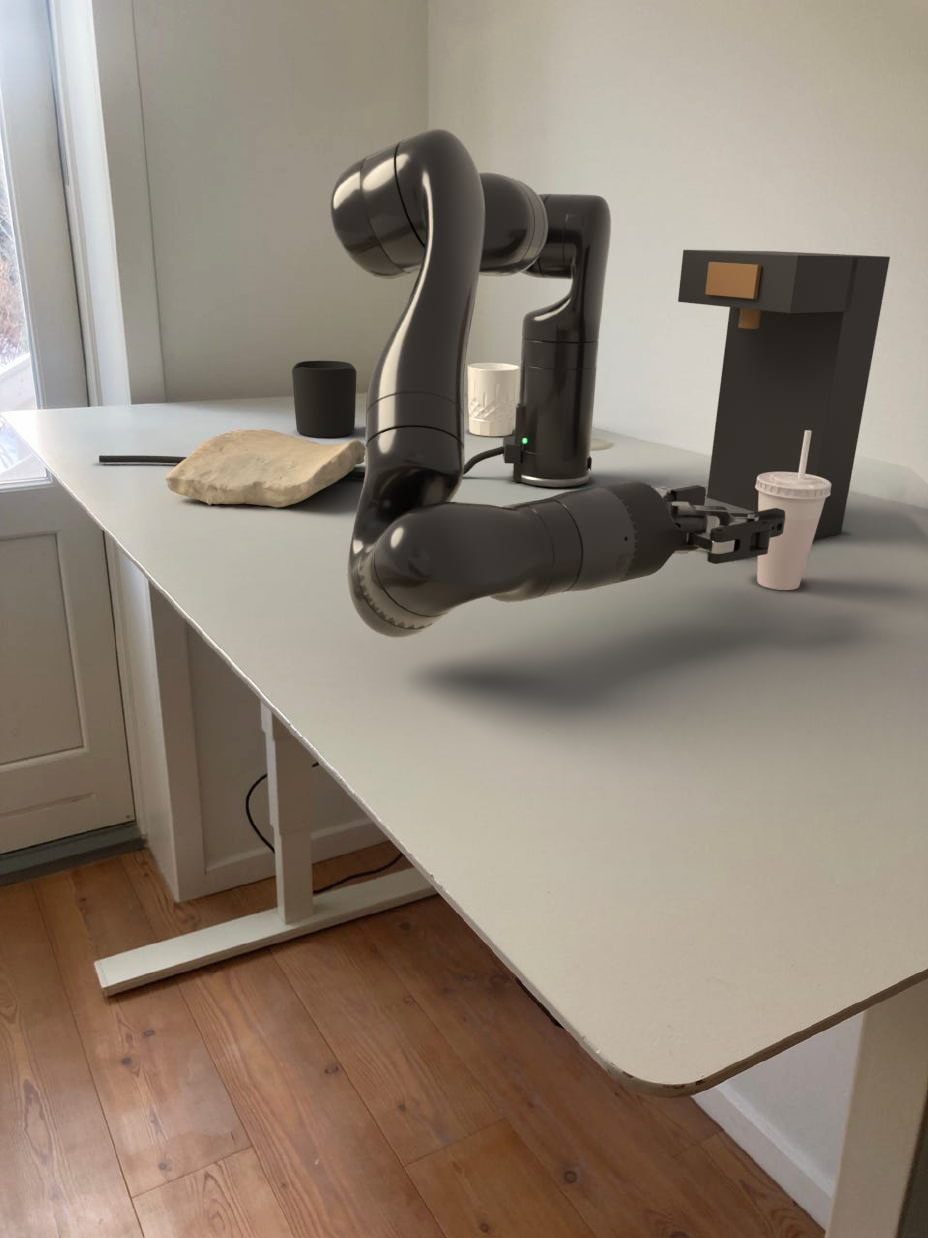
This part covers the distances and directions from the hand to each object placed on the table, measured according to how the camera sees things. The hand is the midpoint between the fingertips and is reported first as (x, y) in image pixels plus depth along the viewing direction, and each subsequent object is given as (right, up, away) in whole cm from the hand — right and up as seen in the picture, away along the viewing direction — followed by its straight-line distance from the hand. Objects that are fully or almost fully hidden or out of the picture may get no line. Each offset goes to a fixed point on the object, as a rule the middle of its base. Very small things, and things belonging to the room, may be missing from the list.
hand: (739, 508), depth 84 cm
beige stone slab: (-45, +7, +35) cm, 57 cm away
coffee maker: (+6, 0, +23) cm, 24 cm away
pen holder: (-44, +19, +65) cm, 81 cm away
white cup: (-19, +19, +69) cm, 74 cm away
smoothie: (+5, -6, +7) cm, 11 cm away
